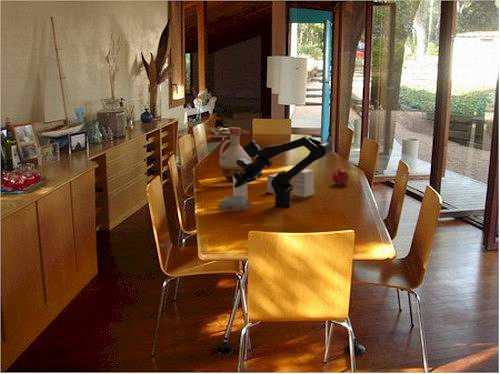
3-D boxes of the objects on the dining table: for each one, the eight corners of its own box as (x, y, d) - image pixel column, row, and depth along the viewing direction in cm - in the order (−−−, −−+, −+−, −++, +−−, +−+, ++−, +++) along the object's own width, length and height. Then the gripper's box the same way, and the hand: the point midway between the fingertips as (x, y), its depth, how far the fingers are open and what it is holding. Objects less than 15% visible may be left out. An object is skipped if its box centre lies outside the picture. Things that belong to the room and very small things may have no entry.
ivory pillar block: (247, 199, 259) (247, 174, 256) (242, 201, 255) (241, 176, 252) (238, 197, 262) (238, 173, 259) (233, 200, 257) (232, 175, 255)
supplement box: (302, 192, 271) (302, 168, 268) (314, 195, 266) (314, 170, 263) (293, 195, 266) (293, 170, 263) (304, 197, 261) (304, 172, 258)
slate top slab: (247, 200, 250) (247, 196, 249) (243, 206, 240) (242, 202, 240) (226, 200, 252) (226, 195, 251) (221, 205, 242) (221, 201, 241)
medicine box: (276, 189, 278) (276, 173, 276) (283, 190, 275) (283, 174, 273) (267, 192, 272) (267, 175, 270) (274, 193, 269) (274, 176, 267)
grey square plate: (249, 205, 251) (249, 200, 250) (244, 212, 239) (244, 207, 239) (224, 204, 253) (224, 199, 252) (218, 211, 242) (218, 206, 241)
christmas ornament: (330, 185, 284) (330, 167, 282) (335, 182, 292) (335, 164, 290) (345, 187, 281) (346, 168, 278) (350, 183, 288) (351, 165, 286)
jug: (231, 186, 284) (229, 130, 277) (210, 181, 297) (209, 127, 290) (258, 181, 297) (258, 127, 290) (237, 176, 310) (236, 124, 303)
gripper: (256, 149, 259) (237, 169, 267) (236, 155, 243) (216, 177, 251) (271, 167, 257) (251, 186, 265) (251, 174, 241) (231, 195, 249)
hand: (237, 186), depth 258 cm, fingers closed on ivory pillar block, 5 cm apart
